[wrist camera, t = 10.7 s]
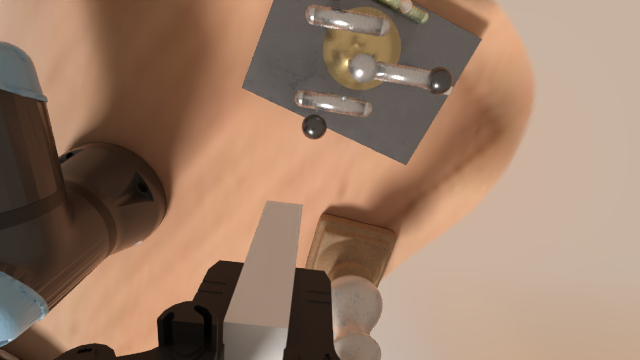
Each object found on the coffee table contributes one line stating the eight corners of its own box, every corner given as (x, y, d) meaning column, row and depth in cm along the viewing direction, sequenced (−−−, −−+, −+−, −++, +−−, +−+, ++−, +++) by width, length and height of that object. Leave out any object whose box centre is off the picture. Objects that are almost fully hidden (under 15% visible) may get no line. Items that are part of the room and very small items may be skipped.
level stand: (246, 85, 41) (237, 89, 37) (298, -56, 35) (293, -69, 31) (403, 160, 43) (409, 170, 39) (474, 39, 38) (490, 38, 34)
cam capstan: (411, 138, 40) (432, 162, 32) (297, 119, 40) (288, 138, 31) (448, 5, 35) (484, -10, 26) (316, -19, 34) (311, -41, 26)
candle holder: (321, 212, 46) (309, 360, 24) (395, 230, 47) (450, 391, 25) (303, 274, 50) (278, 449, 28) (371, 290, 51) (401, 475, 29)
